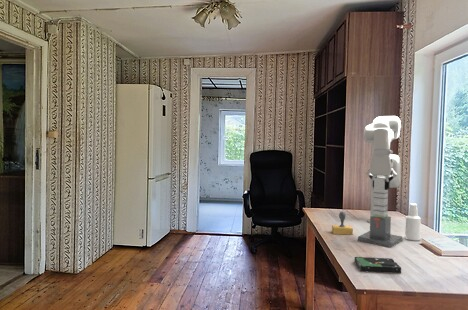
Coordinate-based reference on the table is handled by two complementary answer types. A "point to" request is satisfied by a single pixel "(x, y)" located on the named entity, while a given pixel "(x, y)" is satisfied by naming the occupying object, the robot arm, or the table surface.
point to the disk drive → (377, 265)
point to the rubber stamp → (342, 226)
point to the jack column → (380, 198)
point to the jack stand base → (380, 233)
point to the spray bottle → (413, 223)
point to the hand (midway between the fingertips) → (380, 188)
